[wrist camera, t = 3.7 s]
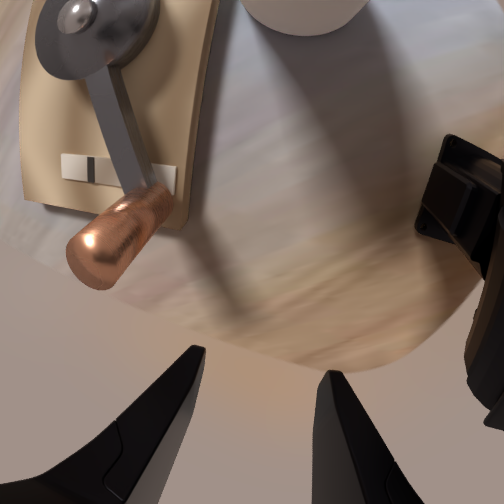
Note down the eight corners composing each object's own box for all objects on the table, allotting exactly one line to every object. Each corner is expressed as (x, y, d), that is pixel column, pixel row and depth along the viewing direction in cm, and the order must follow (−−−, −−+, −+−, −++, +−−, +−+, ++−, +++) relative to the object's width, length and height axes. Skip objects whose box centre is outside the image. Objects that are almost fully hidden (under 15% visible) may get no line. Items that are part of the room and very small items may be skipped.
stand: (228, -36, 10) (221, -47, 9) (187, 219, 19) (178, 232, 17) (49, -10, 11) (33, -13, 9) (36, 192, 19) (22, 201, 17)
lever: (49, 8, 10) (-36, 4, 4) (146, -51, 9) (73, -98, 3) (118, 228, 17) (52, 297, 11) (223, 201, 16) (182, 278, 10)
